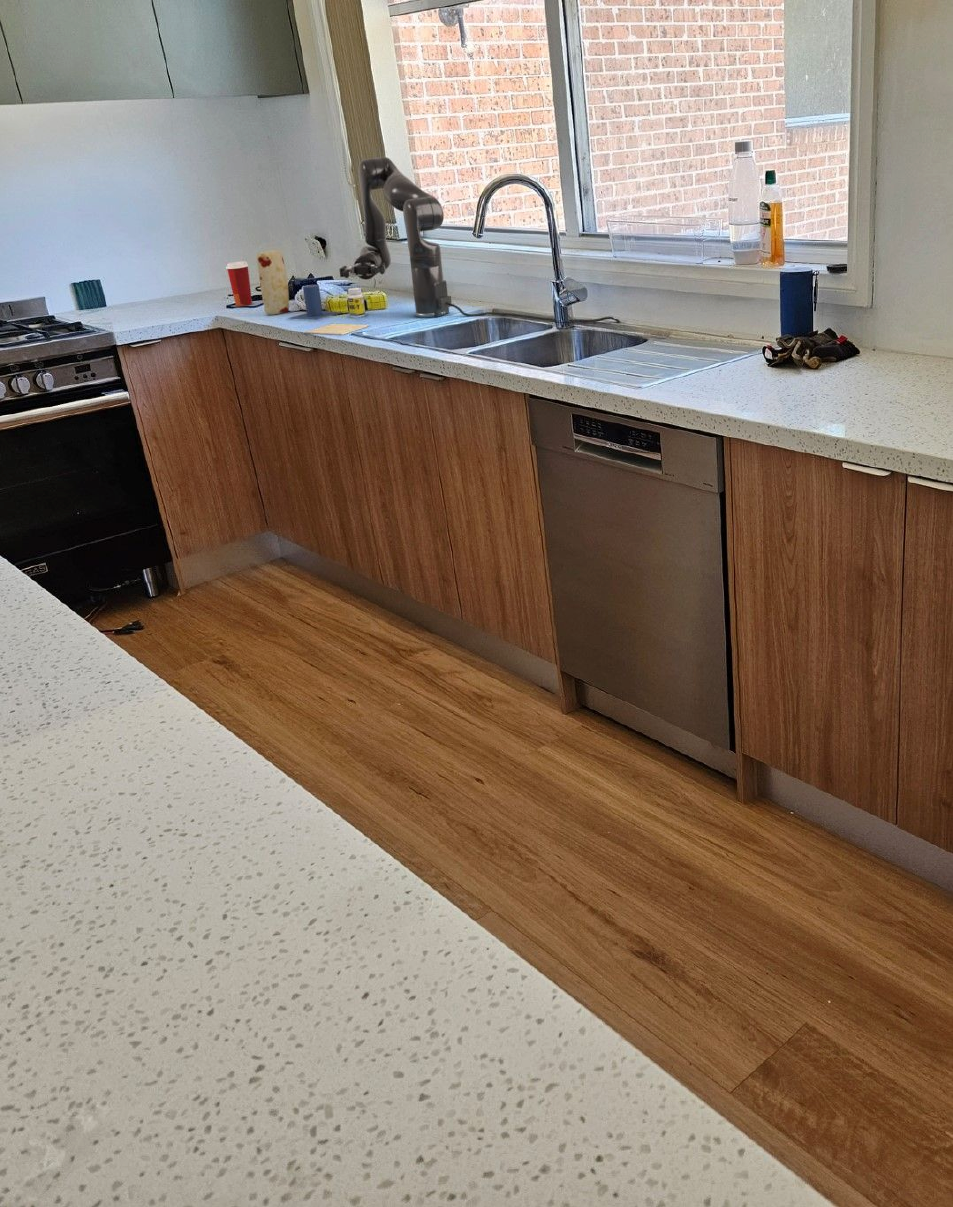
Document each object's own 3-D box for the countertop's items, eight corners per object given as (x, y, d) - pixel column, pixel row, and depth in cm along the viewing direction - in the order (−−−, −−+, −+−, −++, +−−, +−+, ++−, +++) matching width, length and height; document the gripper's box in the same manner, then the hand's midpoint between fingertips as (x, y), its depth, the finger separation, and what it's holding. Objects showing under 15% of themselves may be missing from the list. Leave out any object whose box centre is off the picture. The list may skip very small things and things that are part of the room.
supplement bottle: (347, 318, 331) (344, 290, 328) (353, 315, 335) (350, 287, 332) (362, 317, 330) (358, 289, 326) (367, 314, 334) (364, 287, 330)
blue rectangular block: (326, 313, 340) (322, 284, 336) (315, 317, 336) (311, 287, 333) (314, 313, 343) (310, 284, 339) (303, 316, 339) (299, 287, 335)
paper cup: (258, 301, 376) (251, 260, 370) (250, 306, 369) (243, 264, 363) (237, 303, 377) (229, 262, 371) (229, 307, 371) (221, 265, 365)
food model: (271, 317, 344) (261, 252, 336) (260, 316, 349) (249, 252, 340) (296, 311, 350) (286, 248, 342) (284, 310, 355) (274, 247, 346)
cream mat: (368, 326, 316) (368, 325, 316) (342, 335, 308) (341, 333, 307) (332, 324, 324) (332, 323, 324) (305, 333, 315) (305, 332, 315)
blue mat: (341, 312, 341) (341, 312, 341) (316, 320, 332) (316, 319, 332) (313, 311, 347) (313, 310, 347) (288, 319, 339) (288, 318, 338)
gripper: (344, 255, 352) (335, 263, 337) (387, 252, 350) (379, 259, 336) (347, 279, 355) (338, 287, 340) (390, 275, 353) (382, 284, 339)
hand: (359, 273), depth 338 cm, fingers open, 8 cm apart
